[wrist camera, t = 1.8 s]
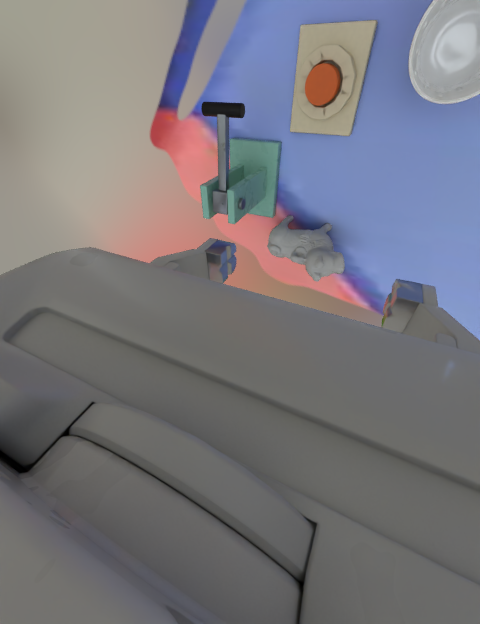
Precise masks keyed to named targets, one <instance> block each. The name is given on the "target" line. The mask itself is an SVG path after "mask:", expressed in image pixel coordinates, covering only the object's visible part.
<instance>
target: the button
mask: <svg viewBox="0 0 480 624" xmlns="http://www.w3.org/2000/svg"><path fill="white" fill-rule="evenodd" d="M339 86H340V74H339V71H338V69H337V68H336V67H335V66H334V65H332V64H329V63H322V64H319V65H317V66H315V67H314V68H313V69H312V70H311V71H310V73H309V75H308V77H307V79H306V83H305V94H306V97H307V99H308V101H309V102H310V103H311V104H313V105H316V106H320V105H324V104H326V103H328V102H330V101H331V100H332V99H333V98H334V97H335V95H336V94H337V92H338V90H339Z"/></svg>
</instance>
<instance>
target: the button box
mask: <svg viewBox="0 0 480 624" xmlns="http://www.w3.org/2000/svg"><path fill="white" fill-rule="evenodd" d="M377 23H378V22H377V20H369V21H353V22H337V23H322V24H306V25H301V27H300V37H299V47H298V57H297V66H296V76H295V86H294V96H293V105H292V115H291V125H290V132H300V133H314V134H328V135H342V136H350V135H351V133H352V129H353V125H354V121H355V116H356V112H357V108H358V104H359V100H360V95H361V91H362V87H363V83H364V78H365V74H366V70H367V66H368V61H369V57H370V53H371V49H372V45H373V40H374V36H375V32H376V28H377ZM322 63H329V64H332V65H334V66H335V67H336V68H337V69H338V71H339V74H340V86H339V90H338V92H337V94H336V95H335V97H334V98H333V99H332V100H331V101H330V102H328V103H326V104H324V105H320V106H316V105H313V104H311V103H310V102H309V101H308V99H307V97H306V94H305V83H306V79H307V77H308V75H309V73H310V71H311V70H312V69H313V68H314V67H315V66H317V65H319V64H322Z"/></svg>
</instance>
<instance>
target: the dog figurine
mask: <svg viewBox="0 0 480 624" xmlns="http://www.w3.org/2000/svg"><path fill="white" fill-rule="evenodd" d="M292 220H293V216H287V217H286V218H285V219H284V220H283V221H282V222H281V223H280V224H279V225H278V226H276V227H275V228H274V229H272V231H271V233H270V235H269V240H268V242H269V243H268V245H267V246H268V249H269V251H270V253H271V254H272V255H274V256H276V257H280V258H283V257H287V258H289V259H291V260H292V261H293V262H296V263H298V264H305V266H306V270H307V272H308V274H309V275H310V276H311V277H312V278H313V279H314V281H319V280H320V279H321V277H324V276H329V275H330V274H332V273H337V274H341V273H342V272H343V271H344V258H343V255H342V254H341V253H338V252H335V251H334V250H333V243H332V241H331V239H330V237H329V236H328V235H327V234H326V233H327V232H328V231H330V230H331V227H332V225H331V224H329V223H326V224H325V225H324V226H322V227H321V228H320V229H315V230H313V231H312V230H298V229H295V230H292V229H289V228H288V223H289V222H291V221H292Z"/></svg>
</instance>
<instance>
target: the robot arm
mask: <svg viewBox="0 0 480 624" xmlns="http://www.w3.org/2000/svg"><path fill="white" fill-rule="evenodd" d="M235 252H236V245H235V244H234V243H230V242H226V241H222V240H218V239H212V238H210V239H208V240H207V241H206V242H205V243H203V244H202V245H201V246H200V247H198V248H197V249H192V250H187V251H183V252H179V253H175V254H171V255H166V256H162V257H158V258H156V259H155V260H153V261H152V262H151V263H146V262H142V261H138V260H135V259H132V258H128V257H125V256H121V255H117V254H114V253H110V252H106V251H103V250H100V249H96V248H91V247H89V248H79V249H72V250H66V251H61V252H56V253H53V254H49V255H46V256H44V257H41V258H39V259H36V260H34V261H32V262H29V263H27V264H25V265H22V266H20V267H18V268H15V269H13V270H10V271H8V272H6V273H4V274H1V275H0V624H480V340H479V339H477V338H476V337H475V336H474V335H473V334H472V333H470V332H469V331H468V330H467V329H466V328H465V327H463V326H462V325H461V324H460V323H459V322H458V321H456V320H455V319H454V318H453V317H452V316H451V315H449V314H448V313H447V312H446V311H445V310H444V309H442V308H440V307H438V302H437V295H436V289H435V287H434V286H431V285H425V284H420V283H415V282H410V281H405V280H400V279H396V280H395V282H394V284H393V286H392V293H390V294H389V295H388V297H387V299H386V302H385V305H384V309H383V314H384V316H383V319H382V328H381V327H377V326H374V325H370V324H367V323H363V322H359V321H356V320H352V319H348V318H345V317H341V316H337V315H334V314H330V313H326V312H323V311H319V310H316V309H312V308H308V307H305V306H301V305H298V304H294V303H290V302H287V301H283V300H280V299H276V298H272V297H269V296H265V295H262V294H258V293H254V292H251V291H247V290H243V289H240V288H236V287H233V286H229V285H226V284H223V283H224V281H226V279H227V278H228V275H229V274H232V273H233V271H234V269H235V267H236V257H235V255H234V253H235Z"/></svg>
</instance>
